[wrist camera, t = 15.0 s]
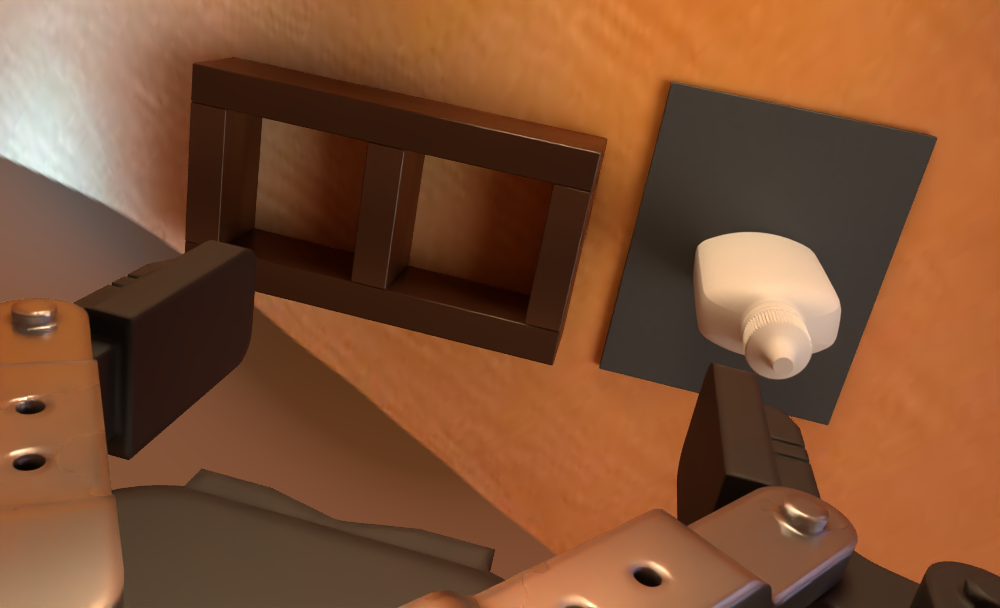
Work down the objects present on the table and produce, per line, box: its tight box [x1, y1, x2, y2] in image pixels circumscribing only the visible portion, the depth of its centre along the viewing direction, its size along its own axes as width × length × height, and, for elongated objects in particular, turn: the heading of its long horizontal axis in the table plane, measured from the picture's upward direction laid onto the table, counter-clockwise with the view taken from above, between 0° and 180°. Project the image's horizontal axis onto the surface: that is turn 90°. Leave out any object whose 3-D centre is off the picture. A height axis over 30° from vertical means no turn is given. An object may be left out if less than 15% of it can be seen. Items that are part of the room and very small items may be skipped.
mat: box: [599, 82, 937, 425], centre depth 41 cm, size 15×12×1 cm
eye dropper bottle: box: [693, 232, 841, 380], centre depth 35 cm, size 4×6×12 cm
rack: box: [185, 57, 607, 365], centre depth 42 cm, size 11×19×4 cm, turn 79°
